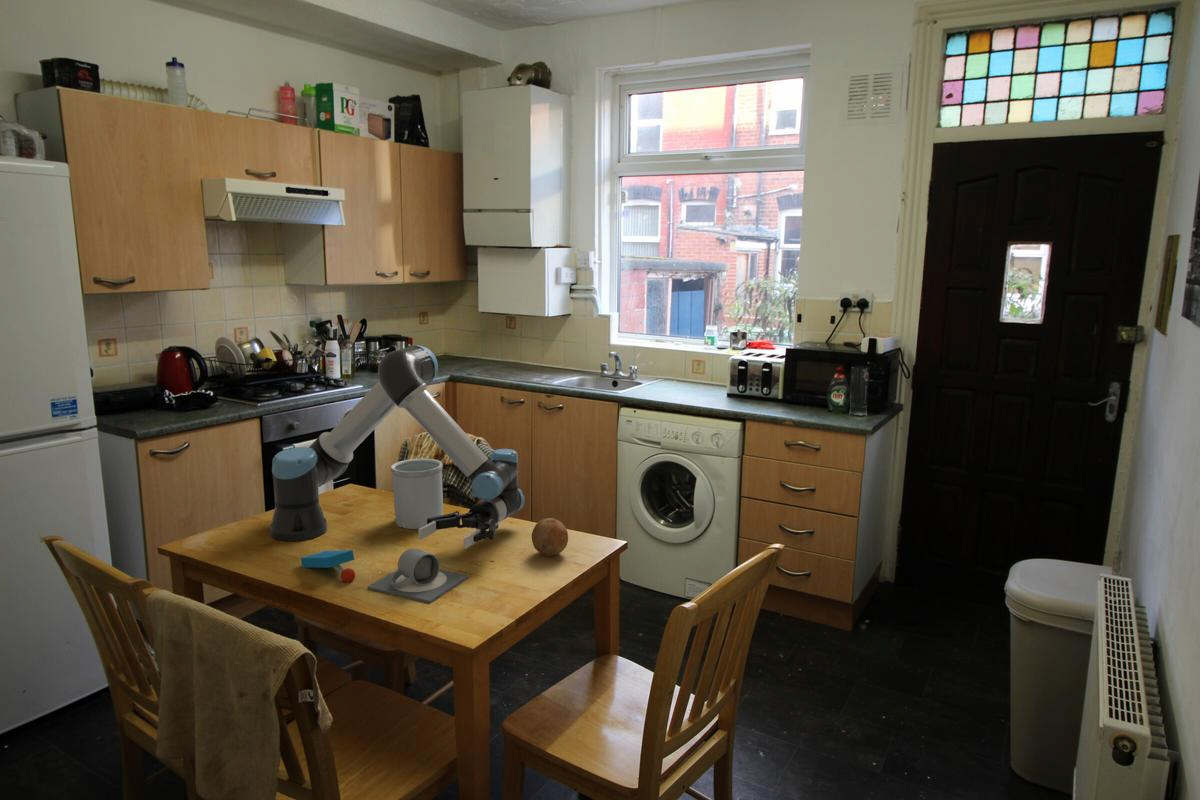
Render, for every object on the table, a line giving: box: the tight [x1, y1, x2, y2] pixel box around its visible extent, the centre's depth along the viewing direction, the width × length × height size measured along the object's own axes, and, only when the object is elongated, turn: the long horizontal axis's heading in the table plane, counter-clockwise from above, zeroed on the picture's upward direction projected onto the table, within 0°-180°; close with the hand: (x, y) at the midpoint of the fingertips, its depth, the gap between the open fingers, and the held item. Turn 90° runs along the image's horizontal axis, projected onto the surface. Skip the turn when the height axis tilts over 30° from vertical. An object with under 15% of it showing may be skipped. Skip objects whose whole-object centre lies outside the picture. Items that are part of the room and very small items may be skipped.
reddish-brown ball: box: [531, 517, 569, 557], centre depth 208 cm, size 10×10×10 cm
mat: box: [367, 569, 470, 604], centre depth 190 cm, size 18×16×1 cm
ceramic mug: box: [391, 548, 441, 588], centre depth 188 cm, size 11×8×8 cm
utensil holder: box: [390, 458, 444, 530], centre depth 231 cm, size 15×15×18 cm
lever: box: [300, 549, 356, 583], centre depth 196 cm, size 7×7×18 cm
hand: (441, 538), depth 197 cm, fingers open, 13 cm apart
